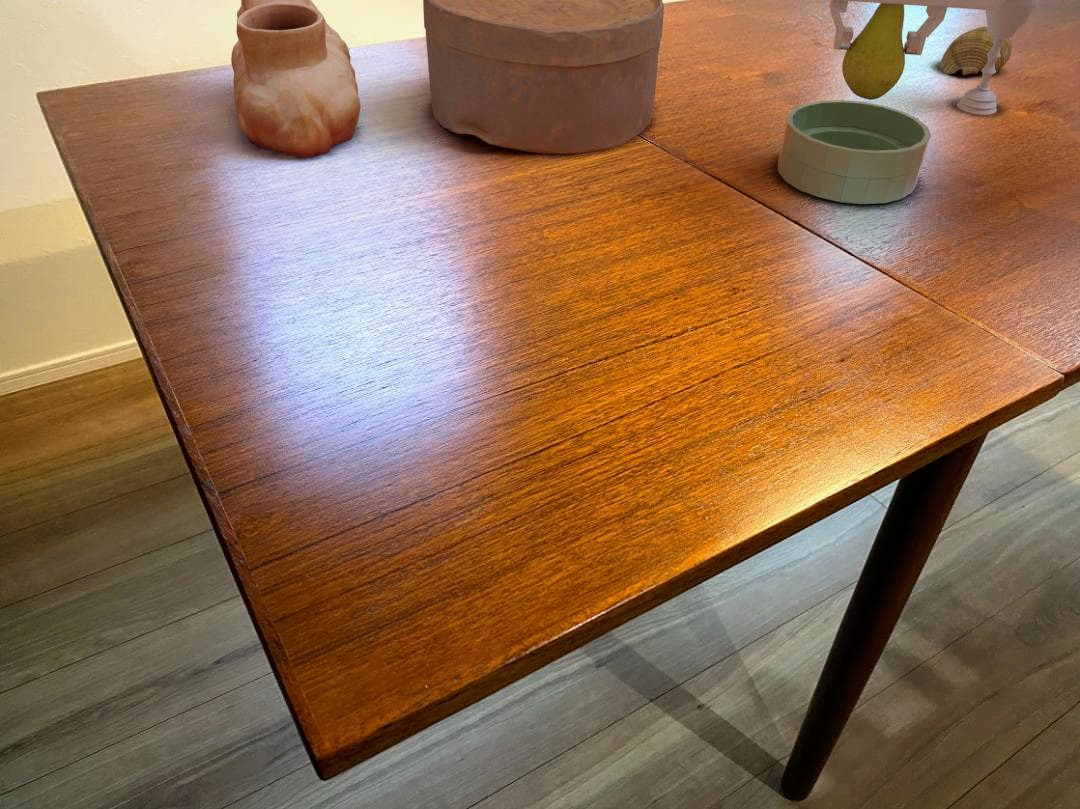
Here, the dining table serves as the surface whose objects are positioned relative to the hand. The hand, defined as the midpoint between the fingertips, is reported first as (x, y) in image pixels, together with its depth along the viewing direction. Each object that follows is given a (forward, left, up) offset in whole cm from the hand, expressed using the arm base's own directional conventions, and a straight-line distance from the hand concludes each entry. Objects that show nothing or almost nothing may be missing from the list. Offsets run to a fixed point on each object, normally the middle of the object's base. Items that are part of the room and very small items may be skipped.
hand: (875, 50), depth 86 cm
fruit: (0, 0, -5) cm, 5 cm away
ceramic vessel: (+63, -3, -14) cm, 65 cm away
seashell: (-20, -40, -14) cm, 47 cm away
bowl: (0, 0, -13) cm, 13 cm away
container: (+35, -11, -14) cm, 39 cm away
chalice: (-18, -25, -14) cm, 34 cm away
